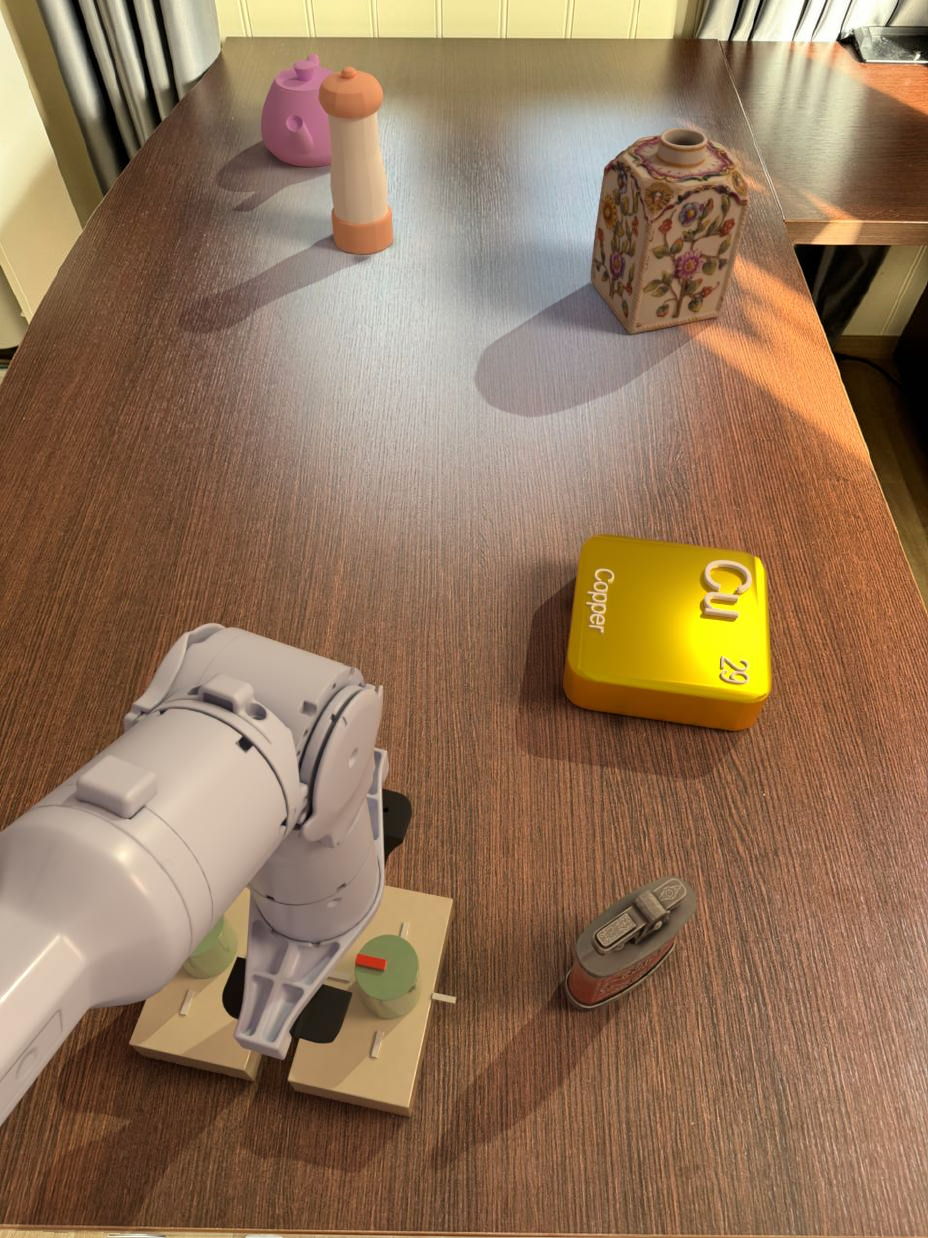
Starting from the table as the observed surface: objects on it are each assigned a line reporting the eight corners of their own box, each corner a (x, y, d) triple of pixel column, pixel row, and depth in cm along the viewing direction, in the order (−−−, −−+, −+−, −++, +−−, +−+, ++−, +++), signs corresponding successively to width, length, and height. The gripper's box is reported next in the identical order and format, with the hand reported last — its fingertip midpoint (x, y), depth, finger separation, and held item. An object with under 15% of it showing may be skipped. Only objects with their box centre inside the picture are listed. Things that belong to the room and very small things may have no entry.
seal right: (427, 963, 54) (425, 940, 51) (413, 1025, 52) (410, 1005, 48) (370, 950, 54) (364, 926, 51) (353, 1012, 52) (346, 991, 49)
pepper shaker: (339, 221, 113) (321, 52, 98) (397, 224, 112) (387, 55, 97) (329, 252, 108) (307, 80, 93) (388, 256, 108) (376, 83, 93)
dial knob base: (434, 1123, 51) (433, 1113, 49) (294, 1091, 52) (286, 1080, 50) (474, 919, 59) (474, 901, 56) (350, 894, 60) (345, 876, 57)
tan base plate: (254, 1081, 53) (243, 1070, 50) (121, 1051, 54) (104, 1038, 51) (314, 887, 60) (308, 868, 57) (196, 863, 61) (185, 844, 58)
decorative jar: (627, 337, 98) (655, 171, 84) (585, 281, 105) (605, 118, 90) (725, 318, 100) (768, 153, 86) (678, 263, 107) (711, 102, 93)
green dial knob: (225, 984, 53) (209, 962, 50) (168, 972, 54) (148, 949, 50) (246, 925, 55) (232, 899, 52) (191, 913, 56) (173, 887, 52)
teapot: (251, 184, 118) (235, 98, 110) (275, 117, 131) (262, 34, 122) (355, 186, 118) (347, 100, 110) (369, 118, 130) (363, 36, 122)
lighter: (650, 908, 59) (679, 845, 51) (685, 952, 57) (720, 894, 49) (552, 977, 56) (567, 922, 49) (585, 1025, 55) (606, 976, 47)
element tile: (577, 562, 78) (584, 524, 74) (753, 586, 76) (769, 548, 72) (559, 707, 69) (565, 672, 65) (758, 737, 67) (776, 702, 63)
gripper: (281, 679, 43) (317, 807, 53) (135, 986, 34) (213, 1064, 45) (423, 713, 41) (431, 836, 52) (309, 1038, 33) (346, 1106, 44)
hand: (339, 944), depth 48 cm, fingers open, 7 cm apart
